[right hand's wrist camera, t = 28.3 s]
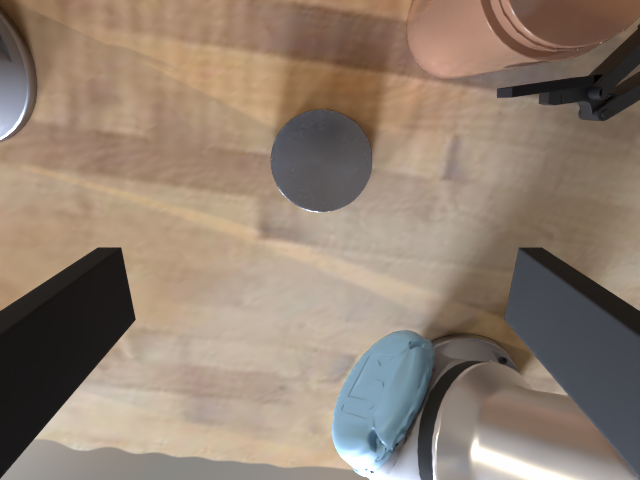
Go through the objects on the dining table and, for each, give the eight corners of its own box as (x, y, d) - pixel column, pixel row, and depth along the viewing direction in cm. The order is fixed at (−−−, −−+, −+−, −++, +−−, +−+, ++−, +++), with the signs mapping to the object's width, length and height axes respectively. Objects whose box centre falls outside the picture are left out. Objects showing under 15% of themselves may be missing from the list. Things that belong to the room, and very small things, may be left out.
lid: (368, 105, 38) (370, 105, 36) (370, 203, 42) (373, 208, 40) (267, 113, 39) (264, 113, 37) (278, 210, 42) (276, 215, 40)
